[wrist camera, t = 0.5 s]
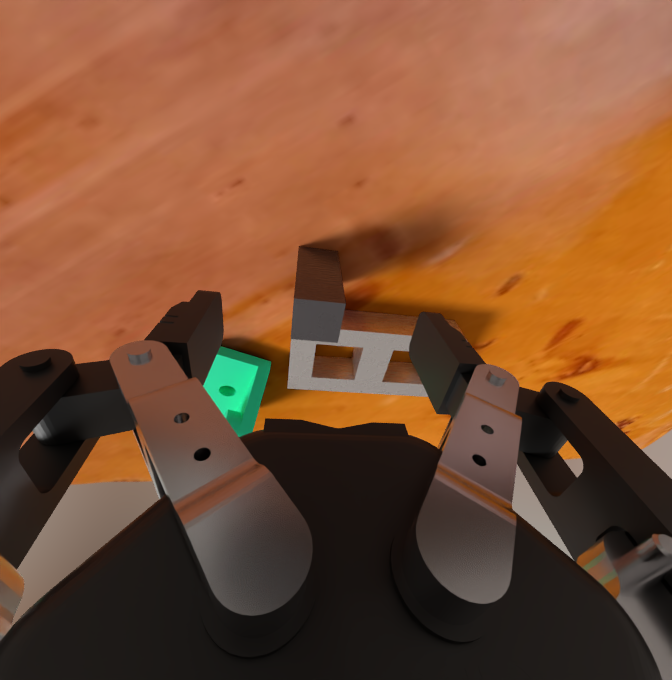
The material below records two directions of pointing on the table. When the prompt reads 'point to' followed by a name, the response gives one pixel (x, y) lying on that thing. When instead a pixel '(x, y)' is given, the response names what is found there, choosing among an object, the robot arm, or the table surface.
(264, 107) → the table surface
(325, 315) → the peg
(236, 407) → the camera mount
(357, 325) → the rail
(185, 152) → the table surface
